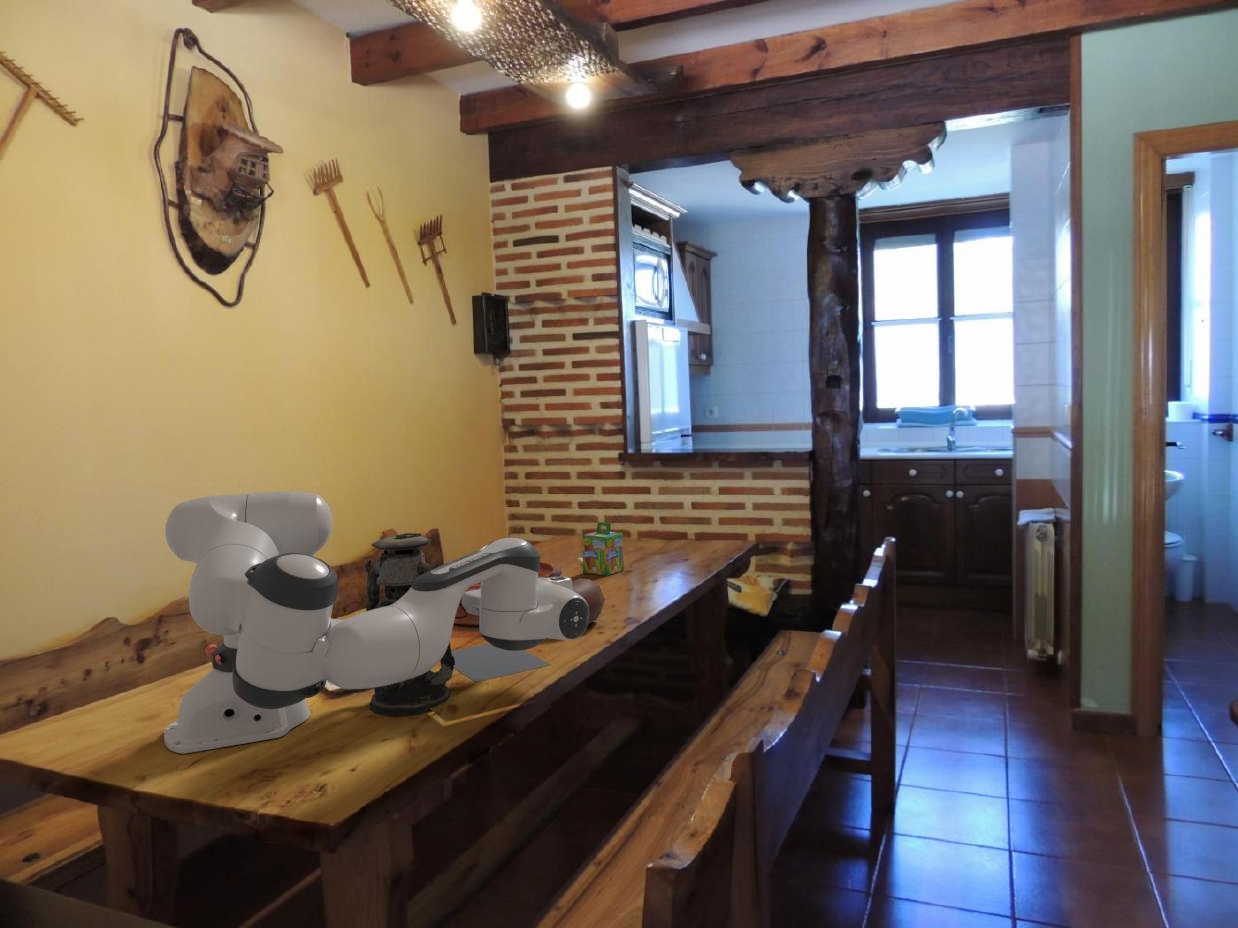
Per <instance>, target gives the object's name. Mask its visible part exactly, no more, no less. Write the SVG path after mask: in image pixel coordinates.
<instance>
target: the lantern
mask: <svg viewBox="0 0 1238 928" xmlns="http://www.w3.org/2000/svg"><path fill="white" fill-rule="evenodd" d="M431 541H432V539H431V538H428V537H425V536H422V533H415V532H414V533H411V532H406V533H401V534H396V535H395V536H394V535H393V536H388V537H383V538H381V539H379V540H378V539H377V541H374V542H372V543H371V545H370V546H371V547H373V548H374V549H375V548H376V549H379V550H383V553H381V556H379V561H376V562H374V563H372V561H371V559H369V560H367V561H366V565H365V566H364V567H365V571H366V573H367V581H366V583H367V586H366V604H365V605H366V606H365V607H366V609H365V612H366V611H370V610H373V609H376V608H381V607H385V606H389V605H391V604H393V603H395V602H396V601H398V600H399V599H400V598H401V597H402V596H404V595H405V594H406V593H407V591H408V590H409V589H410V588H411V586H412V585H413V583H414V581H415V580H416V578H418V577H419V576H421V575H422V574H424V573H426V572H428V571H430V570H432V569H435V568H437V567H439V566H441V565H440V563H439V562H436V563H435V566H433V565H431V564H429V563H426V559H425V553H424V552H423V550H421V549H420V548H421V547H422V546H426V545H428V544H429V543H430V542H431ZM381 586H384V592H385V598H384V599H381V600H380V592H381V590H380V588H381ZM459 607H460V608H461V609H462V611H463V612H464V613H465V615H463V616H455V619H454V620H458V619H464V618H465V619H466V618H467V617H468V615H469V613H468V612H466V611H465V608H464V607H463V604H462V603H461V602H460V603H459ZM451 651H452V648H451V643H450V642H449V645H448V647H447V650H446V652H445V654H444V656H443V657H442V659H441V660H440V661H439V663H440V669H439V670H437V671H432V670H431V669H430V670H429V671H427V672H426V673H424V674H422V675H420V676H417V677H414V678H411V679H408V680H405V681H402V682H398V683H394V684H390V685H386V686H381V687H375V688H373V689H374V690H373V691H374V694H373V695H372V696H371V699H370V701H369V704H368V705H369V706H368V707H369V710H370V711H371V712H373V713H374V714H377V715H380V716H386V717H399V718H400V717H410V716H411V717H412V716H417V715H423V714H426V713H431V712H433V710H432V709H431V708H434V707H438V706H440V705H442V704H443V703H445V702H447V701H448V700H449V699H450V698H451V697H452V693H451V690H450V688H449V687H448V686H447V682H449V681H450V680H451V678H452V677H453V673H454V670H455V669H454V665H455V660H454V656H452V653H451Z"/></svg>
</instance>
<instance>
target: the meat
mask: <svg viewBox="0 0 1238 928" xmlns="http://www.w3.org/2000/svg"><path fill="white" fill-rule="evenodd" d="M572 587H573V591H574V592H576V593H577V594H579V595H580V596H582V597H583V598H584V599H585V601H586V602H587V604H588V606H589V611H590V617H589V624H588V625H590V624H592V623H594V622H595V621H596V620H597V619H598V618H599V616H600V615H601V614H602V611H603V607H604V604H605V600H606V598H605V596H604V593H603V592H602V588H601V586H600V585H599V584H598V583H596V582H595V581H593V580H592V579H589V578H578V579H574V580H572Z"/></svg>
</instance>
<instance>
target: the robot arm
mask: <svg viewBox="0 0 1238 928" xmlns="http://www.w3.org/2000/svg"><path fill="white" fill-rule="evenodd" d="M170 511H171V512H170V513H169V515H168V517H167V519H166V522H165V529H164V532H165V534H164V535H165V538H166V542H167V544H168V547H169V548H170V550H171V551H172V552H173V554H174V555H175V556H176V557H177V558H178V559H180V561H181V560H182V561H186V562H190V563H194V564H196V565H195V568H194V570H193V573H192V576H191V579H190V584H189V593H188V603H189V611H190V614H191V617H192V619H193V621H194V623H196V625H197V626H198V627H200V628H201V629H202V630H203V631H205V632H208V634H209V633H210V634H212V635H216V636H223V643H222V644H220V645H219V646H217V645H216V644H212V643H210V644H208V645H206V648H205V650H204V652H205V655H206V656H207V657H208V659H211V665H212V669H211V670H210V671H209V672H208V673H206V674H204V676H203V677H202V678H201V679H200V680H198V681H197V682H196V683H195V684H194V685H193V686H192V687H190V688H189V689H188V690H187V691H186V692H185V693H184V694H183V695H182V698H181V700H180V702H179V707H178V715H177V721H173V722H172V723H171V724H169V725H168V726H167V727H166V728H165V729H164V732H163V741H164V744H165V746H166V748H167V749H168V750H170V751H172V752H175V753H177V754H189V753H197V752H202V751H209V750H213V749H220V748H226V747H232V746H236V745H237V746H238V745H242V744H243V745H244V744H248V743H255V742H261V741H266V740H271V739H278V738H281V737H283V736H285V735H286V734H288V732H289V731H290V730H291V729H293V728H295V727H297V726H299V725H301V724H302V723H304V722H305V721H307V720H308V719H309V717H311V711H310V710H311V709H310V708H309V706H308V702H307V701H306V699H310V698H313V697H316V696H317V695H319V694H320V693H321V692H322V690H324V689H325V687H326V685H327V682H330V683H331V684H333V685H334V686H336V687H338V688H340V689H344V690H365V689H374V688H375V687H381V686H386V685H390V684H394V683H398V682H402V681H405V680H408V679H411V678H414V677H417V676H420V675H422V674H424V673H426V672H427V671H429V670H430V671H431V669H433V668H434V667H436V666H437V665H438V664H439V663H440V660H441V659H442V657H443V656H444V654H445V652H446V650H447V647H448V645H449V642H450V641H451V638H452V632H453V628H454V623H455V620H456V619H455V617H457V616H456V615H457V612H458V608H459V607H460V605H459V603H461V602H462V603H461V605H462V606H463V607H464V608H465V611H466V612H467V613H468V614H471V615H474V616H478V617H479V635H480V637H481V638H482V639H484V640H485V642H487V644H488V643H490V644H491V645H493V646H494V647H497V648H500V649H504V650H510V651H520V650H523V651H525V650H526V651H527V650H530V649H533V648H535V647H537V646H539V645H540V644H542V643H543V642H545V641H546V640H547V639H554V640H561V641H573V640H577V639H579V638H580V637H581V636H582V635H583V634H584V633H585V632H586V630H587V628H588V627H589V625H590V624H589V617H590V611H589V606H588V604H587V602H586V601H585V599H584V598H583V597H582V596H580V595H579V594H577V593H576V592H574V591H573V587H572V581H573V580H572V578H571V577H568V576H564V577H563V576H551V577H550V576H549V577H539V574H540V565H541V555H540V553H539V551H538V550H537V549H536V548H535V546H534V545H533V544H532V543H531V542H530V541H529V540H528V539H527V540H526V539H523V538H518V537H506V538H505V537H503V538H500V539H496V540H493V541H490V542H488V543H487V544H486V545H484V546H483V547H481V548H480V549H478V550H475V551H474V552H471V553H468V554H466V555H463V556H461V557H459V558H456V559H453V560H451V561H448V562H447V563H444V564H441V565H440V566H439V567H437V568H435V569H432V570H430V571H428V572H426V573H424V574H422V575H421V576H419V577H418V578H416V580H415V581H414V583H413V585H412V586H411V588H410V589H409V590H408V591H407V593H406V594H405V595H404V596H402V597H401V598H400V599H399V600H398V601H396V602H395V603H393V604H391V605H389V606H385V607H381V608H376V609H373V610H370V611H366V610H365V611H363V612H360V613H357V614H355V615H353V616H350V617H348V618H346V619H341V618H339V619H337V618H332V615H333V613H332V612H333V608H334V604H335V602H336V601H337V598H338V597H337V596H338V575H337V573H336V572H335V570H334V569H333V568H332V567H331V566H330V565H329V564H328V563H327V562H325V561H324V560H322V559H320V558H319V557H316V556H315V554H316V553H317V552H319V551H320V550H321V549H322V548H324V547H325V545H326V544H327V542H328V541H329V539H330V537H331V534H332V531H333V525H334V518H333V513H332V510H331V507H330V506H329V505H328V503H327V501H326V500H325V499H324V498H323V497H322V496H321V495H319V494H318V493H310V492H304V491H295V490H285V491H281V490H280V491H266V492H253V493H240V494H223V495H222V494H221V495H208V496H203V497H202V496H201V497H199V498H194V499H190V500H187V501H186V500H185V501H182V502H179V503H177V504H176V505H175V506H174V508H173V509H172V510H170ZM479 583H480V587H479V588H478V589H473V590H468V589H469V588H471V587H472V586H475V585H478V584H479ZM461 600H462V601H461Z"/></svg>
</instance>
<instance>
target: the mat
mask: <svg viewBox="0 0 1238 928" xmlns="http://www.w3.org/2000/svg"><path fill="white" fill-rule="evenodd" d="M451 653H452V656H454V660H455V665H454V669H453V670H456V671H457V672H459V673H460V674H462V675H464V676H465V677H467V678H468V679H470V680H471V681H473V682H475V683H479V682H484V681H488V680H493V679H496V678H501V677H506V676H510V675H515V674H519V673H523V672H527V671H531V670H536V669H540V668H545V667H548V666H549V667H550V666H552V664H551V663H549V662H547V661H545V660H543V659H541V658H539V657H538V656H535V655H533V654H531V653H529V652H527V651H525V650H520V651H510V650H504V649H500V648H497V647H494V646H493V645H491V644H490V643H488V642H487V643H484V644H478V645H474V646H469V647H464V648H459V649H455V650H451Z"/></svg>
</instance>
